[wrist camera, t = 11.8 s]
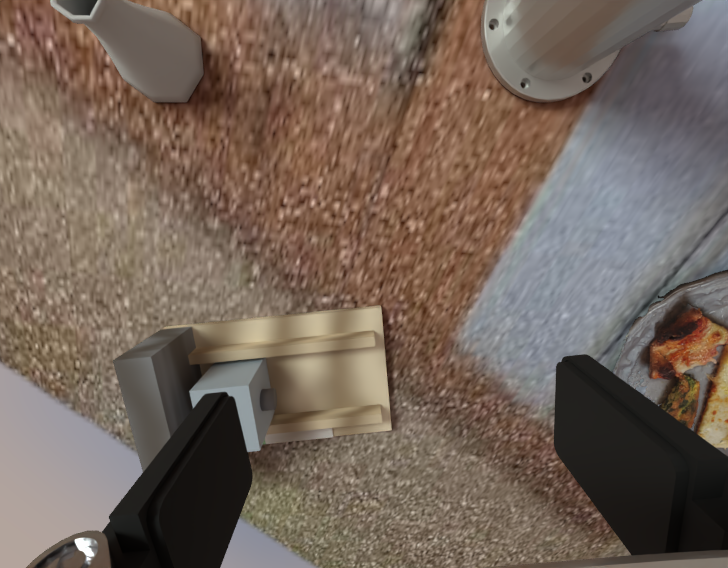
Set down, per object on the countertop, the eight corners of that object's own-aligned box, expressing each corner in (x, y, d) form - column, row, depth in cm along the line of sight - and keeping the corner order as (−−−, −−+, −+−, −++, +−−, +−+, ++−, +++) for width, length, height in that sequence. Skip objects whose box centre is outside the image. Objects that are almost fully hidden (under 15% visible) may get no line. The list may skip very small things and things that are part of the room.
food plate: (637, 252, 35) (668, 258, 32) (840, 281, 37) (890, 290, 34) (569, 459, 41) (589, 483, 38) (747, 475, 43) (781, 500, 40)
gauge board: (380, 305, 36) (388, 332, 28) (390, 425, 39) (400, 481, 31) (165, 326, 35) (112, 360, 28) (192, 446, 38) (152, 507, 31)
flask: (196, 117, 31) (125, 77, 22) (114, 88, 31) (2, 33, 21) (214, 31, 30) (148, -54, 20) (129, -2, 29) (17, -106, 19)
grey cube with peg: (276, 354, 35) (261, 384, 30) (289, 440, 38) (278, 483, 32) (216, 360, 35) (189, 391, 29) (233, 446, 38) (211, 490, 32)
